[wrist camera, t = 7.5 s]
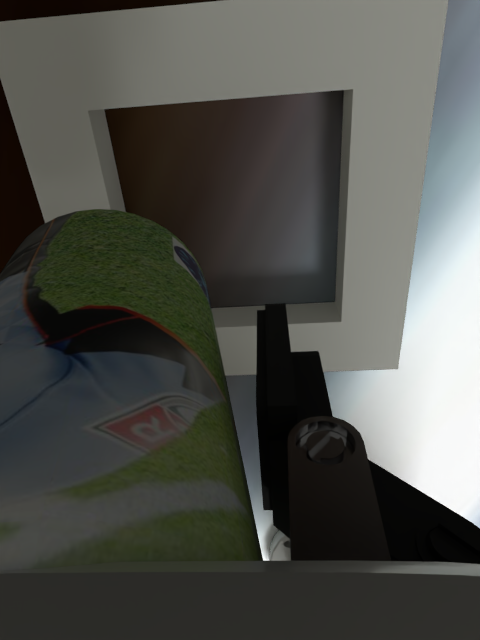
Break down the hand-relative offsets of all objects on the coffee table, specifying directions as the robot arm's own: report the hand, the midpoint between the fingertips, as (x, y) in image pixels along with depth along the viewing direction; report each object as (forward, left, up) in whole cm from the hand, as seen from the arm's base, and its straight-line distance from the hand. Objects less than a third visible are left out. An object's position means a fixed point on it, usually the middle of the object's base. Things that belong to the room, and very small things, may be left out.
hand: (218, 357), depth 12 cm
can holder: (0, 0, -11) cm, 11 cm away
